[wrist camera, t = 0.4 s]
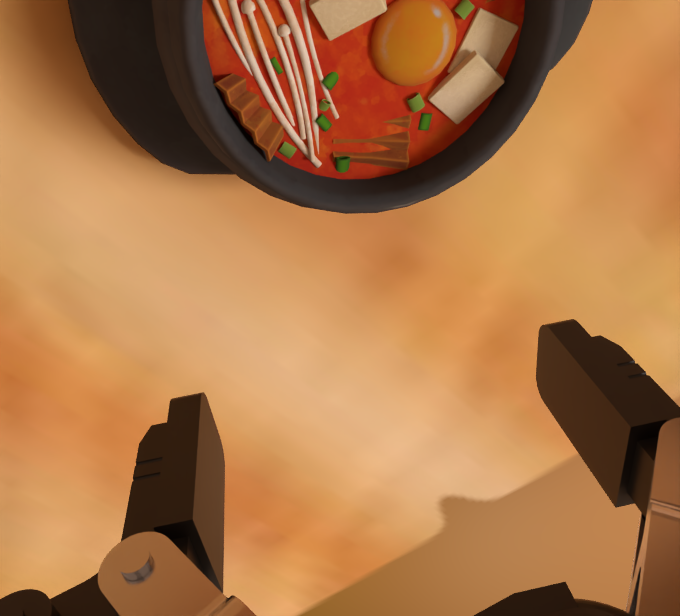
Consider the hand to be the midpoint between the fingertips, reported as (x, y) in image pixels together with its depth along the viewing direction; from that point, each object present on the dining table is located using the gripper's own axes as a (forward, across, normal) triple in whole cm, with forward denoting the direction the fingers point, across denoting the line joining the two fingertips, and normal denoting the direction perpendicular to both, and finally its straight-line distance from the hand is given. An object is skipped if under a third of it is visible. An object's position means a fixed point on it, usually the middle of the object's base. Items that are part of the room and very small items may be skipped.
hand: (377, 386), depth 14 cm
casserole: (+22, -3, -6) cm, 23 cm away
